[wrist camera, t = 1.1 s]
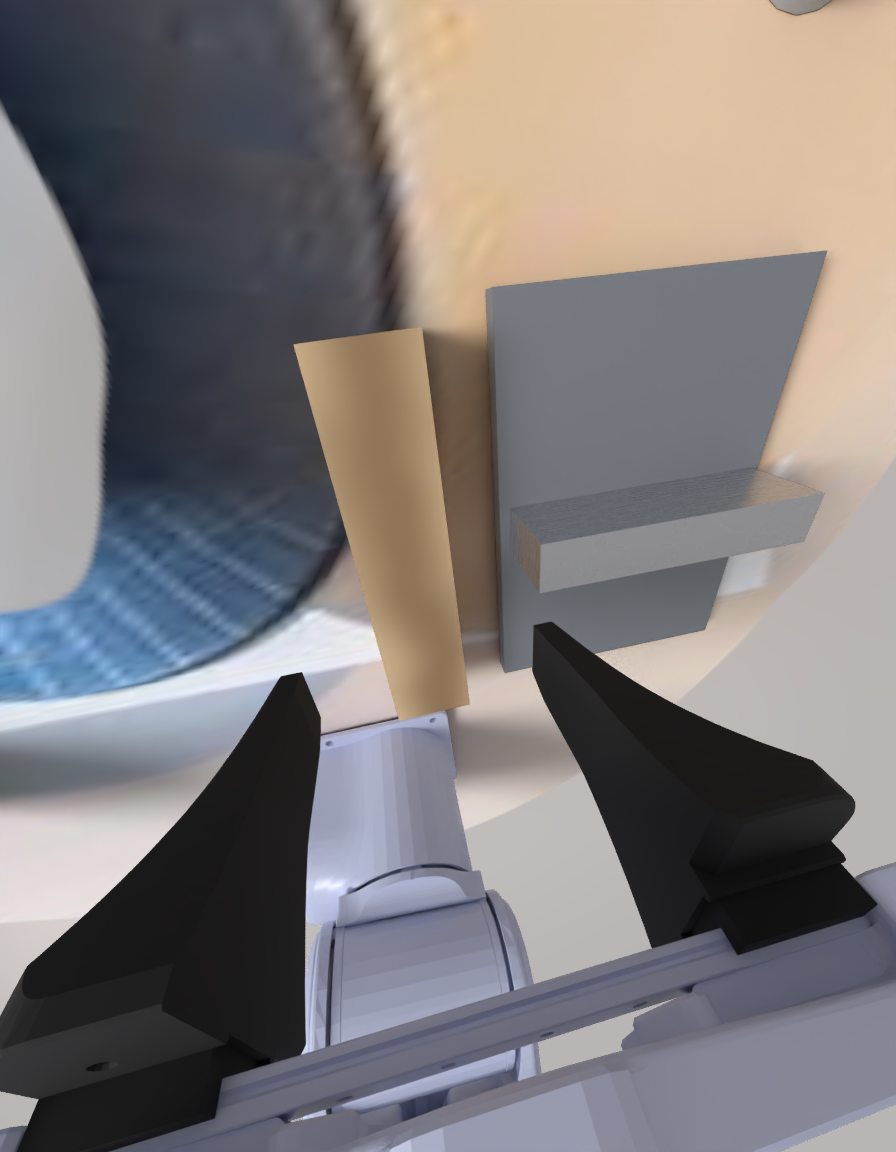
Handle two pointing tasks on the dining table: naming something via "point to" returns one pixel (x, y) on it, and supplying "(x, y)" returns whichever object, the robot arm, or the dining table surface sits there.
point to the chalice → (799, 5)
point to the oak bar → (392, 506)
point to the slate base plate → (632, 419)
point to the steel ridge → (658, 526)
